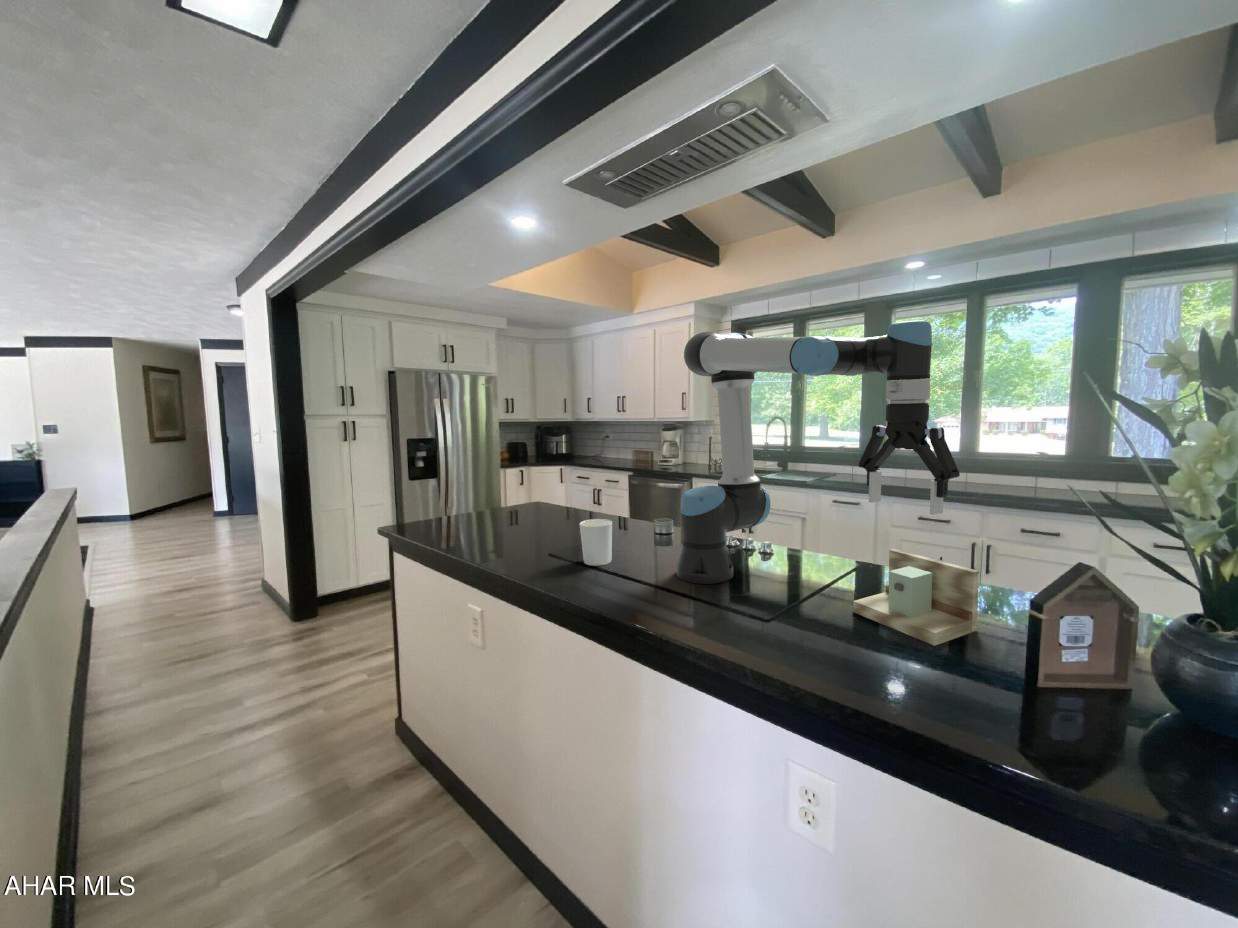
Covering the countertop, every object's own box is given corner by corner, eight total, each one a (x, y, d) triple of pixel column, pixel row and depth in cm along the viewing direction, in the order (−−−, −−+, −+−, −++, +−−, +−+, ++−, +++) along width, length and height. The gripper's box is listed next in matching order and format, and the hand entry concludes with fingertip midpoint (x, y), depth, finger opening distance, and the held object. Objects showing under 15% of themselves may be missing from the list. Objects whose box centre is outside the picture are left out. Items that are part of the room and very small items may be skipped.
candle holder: (577, 566, 151) (575, 526, 150) (585, 556, 161) (583, 518, 159) (610, 566, 150) (609, 526, 148) (616, 556, 159) (614, 518, 158)
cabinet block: (885, 609, 106) (886, 571, 105) (908, 602, 109) (909, 566, 108) (908, 618, 101) (909, 578, 100) (931, 611, 104) (932, 572, 103)
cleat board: (853, 612, 111) (853, 557, 110) (892, 600, 116) (893, 548, 115) (934, 645, 95) (936, 582, 94) (976, 630, 100) (978, 570, 99)
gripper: (842, 403, 112) (840, 499, 114) (959, 402, 89) (953, 522, 92) (867, 401, 115) (864, 495, 118) (985, 400, 92) (979, 516, 95)
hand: (903, 507), depth 105 cm, fingers open, 13 cm apart
